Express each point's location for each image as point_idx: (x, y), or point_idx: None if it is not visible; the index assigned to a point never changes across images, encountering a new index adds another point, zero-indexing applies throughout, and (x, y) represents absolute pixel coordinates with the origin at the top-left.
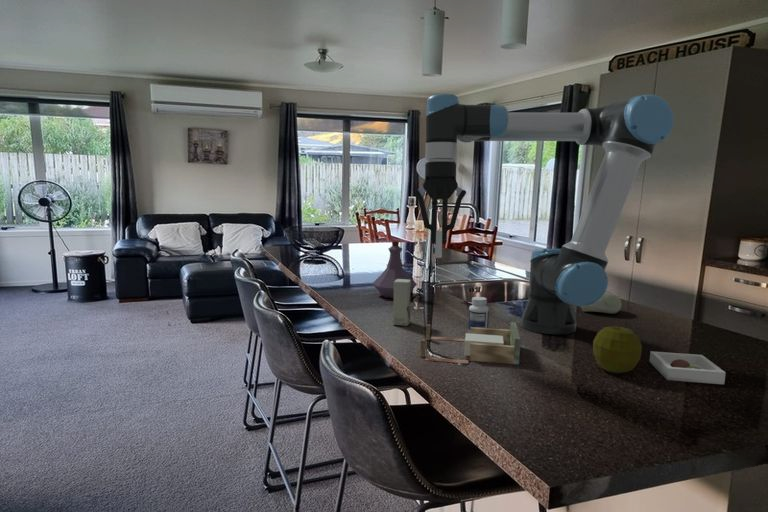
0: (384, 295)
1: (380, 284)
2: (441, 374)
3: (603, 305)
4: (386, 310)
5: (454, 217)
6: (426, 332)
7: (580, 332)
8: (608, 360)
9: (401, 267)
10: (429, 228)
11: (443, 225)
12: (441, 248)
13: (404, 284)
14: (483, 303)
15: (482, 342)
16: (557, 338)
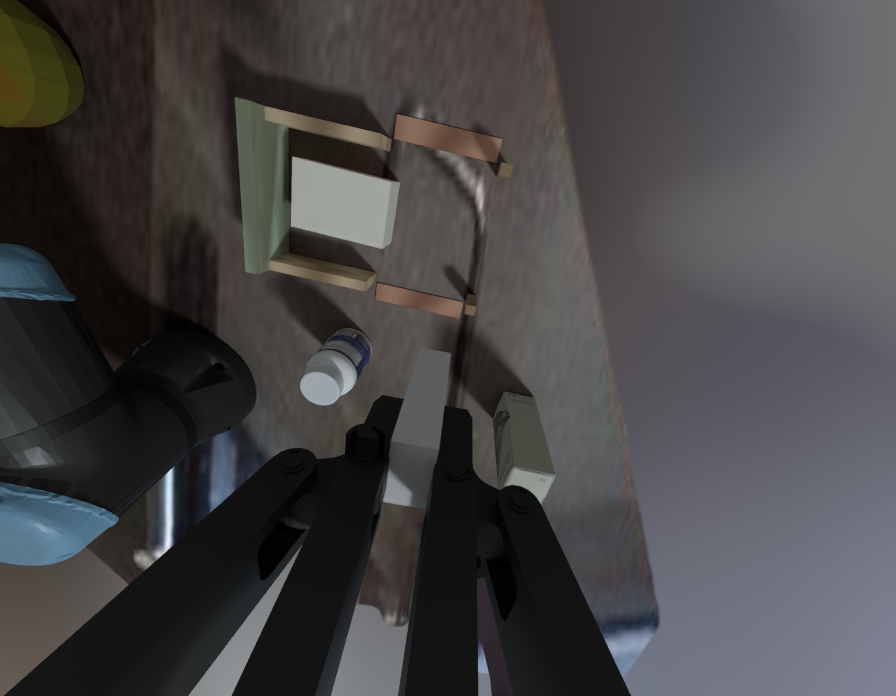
0: None
1: None
2: (476, 19)
3: None
4: None
5: (214, 537)
6: (475, 300)
7: (137, 346)
8: (24, 6)
9: (487, 645)
10: (489, 492)
11: (366, 483)
12: (414, 372)
13: (523, 464)
14: (313, 367)
15: (346, 170)
16: (184, 307)
